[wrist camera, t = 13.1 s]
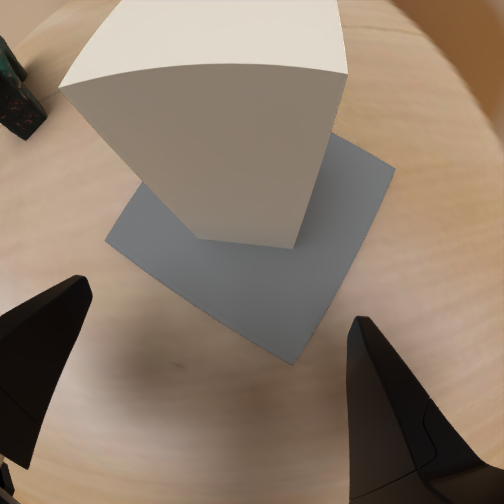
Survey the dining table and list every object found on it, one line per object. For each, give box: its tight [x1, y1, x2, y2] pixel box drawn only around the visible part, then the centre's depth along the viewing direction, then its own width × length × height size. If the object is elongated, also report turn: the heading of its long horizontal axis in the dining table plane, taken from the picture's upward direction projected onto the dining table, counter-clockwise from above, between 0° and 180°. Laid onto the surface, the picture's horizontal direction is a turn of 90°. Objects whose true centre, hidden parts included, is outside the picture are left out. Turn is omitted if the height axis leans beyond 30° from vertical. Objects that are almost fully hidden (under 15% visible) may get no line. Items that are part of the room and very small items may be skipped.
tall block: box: [58, 0, 348, 249], centre depth 11 cm, size 6×6×13 cm
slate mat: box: [105, 133, 395, 365], centre depth 17 cm, size 14×14×1 cm
